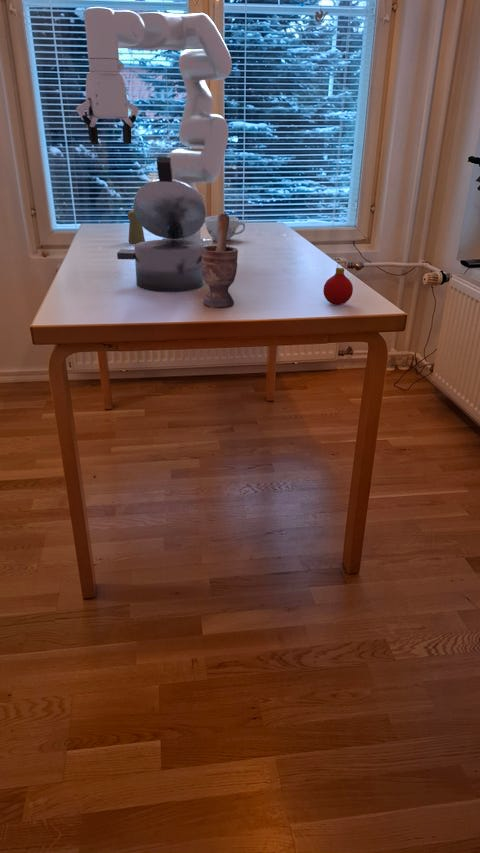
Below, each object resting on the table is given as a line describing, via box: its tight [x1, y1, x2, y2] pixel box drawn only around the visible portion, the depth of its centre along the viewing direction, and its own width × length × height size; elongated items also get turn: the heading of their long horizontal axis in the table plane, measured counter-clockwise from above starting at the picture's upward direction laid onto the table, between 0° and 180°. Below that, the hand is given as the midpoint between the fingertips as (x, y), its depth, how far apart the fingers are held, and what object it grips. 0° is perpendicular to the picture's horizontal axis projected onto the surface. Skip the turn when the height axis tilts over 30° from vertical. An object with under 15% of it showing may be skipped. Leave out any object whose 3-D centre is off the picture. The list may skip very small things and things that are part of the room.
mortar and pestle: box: [201, 213, 239, 309], centre depth 137 cm, size 12×9×20 cm
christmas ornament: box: [323, 262, 354, 306], centre depth 140 cm, size 7×7×10 cm
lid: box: [132, 156, 207, 239], centre depth 151 cm, size 24×19×3 cm
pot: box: [116, 237, 204, 293], centre depth 156 cm, size 20×27×10 cm
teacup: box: [204, 215, 246, 241], centre depth 215 cm, size 15×12×8 cm
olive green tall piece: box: [127, 209, 146, 245], centre depth 207 cm, size 6×6×11 cm
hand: (111, 143), depth 154 cm, fingers open, 9 cm apart
